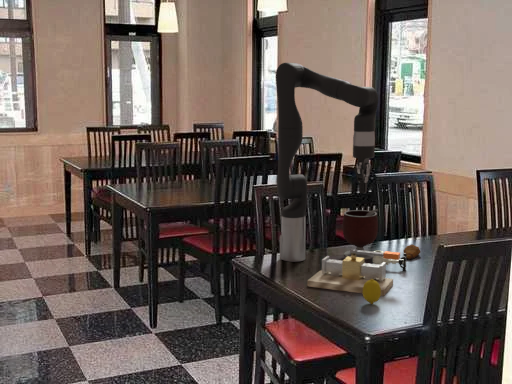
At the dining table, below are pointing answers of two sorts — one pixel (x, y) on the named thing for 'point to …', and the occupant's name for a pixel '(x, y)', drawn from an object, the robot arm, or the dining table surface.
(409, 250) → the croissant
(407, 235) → the dining table surface
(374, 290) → the lemon
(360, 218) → the mate gourd
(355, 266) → the pipe valve
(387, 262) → the valve
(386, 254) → the valve lever
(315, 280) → the valve board
